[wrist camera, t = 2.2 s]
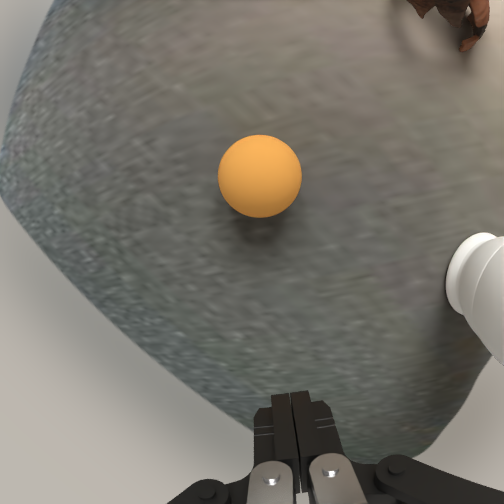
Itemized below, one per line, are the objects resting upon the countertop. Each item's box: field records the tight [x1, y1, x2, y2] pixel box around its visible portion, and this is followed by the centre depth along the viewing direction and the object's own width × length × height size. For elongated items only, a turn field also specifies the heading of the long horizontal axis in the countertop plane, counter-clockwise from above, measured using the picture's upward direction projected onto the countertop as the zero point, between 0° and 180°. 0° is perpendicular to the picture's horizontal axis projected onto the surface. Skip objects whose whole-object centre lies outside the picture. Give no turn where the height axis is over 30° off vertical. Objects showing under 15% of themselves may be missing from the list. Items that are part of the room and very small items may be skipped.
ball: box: [218, 135, 302, 218], centre depth 21 cm, size 6×6×6 cm
